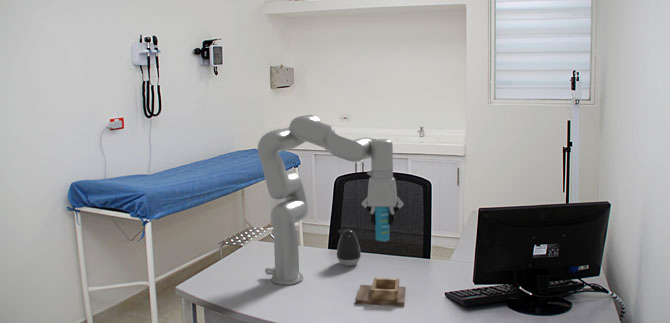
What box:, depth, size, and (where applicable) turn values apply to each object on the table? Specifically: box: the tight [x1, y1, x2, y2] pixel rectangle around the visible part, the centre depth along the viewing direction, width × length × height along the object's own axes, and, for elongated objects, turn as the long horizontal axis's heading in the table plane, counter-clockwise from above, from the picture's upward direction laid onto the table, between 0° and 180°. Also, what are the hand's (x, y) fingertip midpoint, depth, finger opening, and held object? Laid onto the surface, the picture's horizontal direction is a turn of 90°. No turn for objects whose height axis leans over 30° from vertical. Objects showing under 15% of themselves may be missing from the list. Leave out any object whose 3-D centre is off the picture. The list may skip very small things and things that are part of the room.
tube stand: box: [355, 277, 407, 307], centre depth 203 cm, size 17×14×5 cm
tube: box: [374, 207, 391, 242], centre depth 198 cm, size 7×5×19 cm, turn 123°
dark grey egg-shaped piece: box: [336, 229, 362, 267], centre depth 236 cm, size 10×10×15 cm
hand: (382, 223), depth 198 cm, fingers closed on tube, 5 cm apart
